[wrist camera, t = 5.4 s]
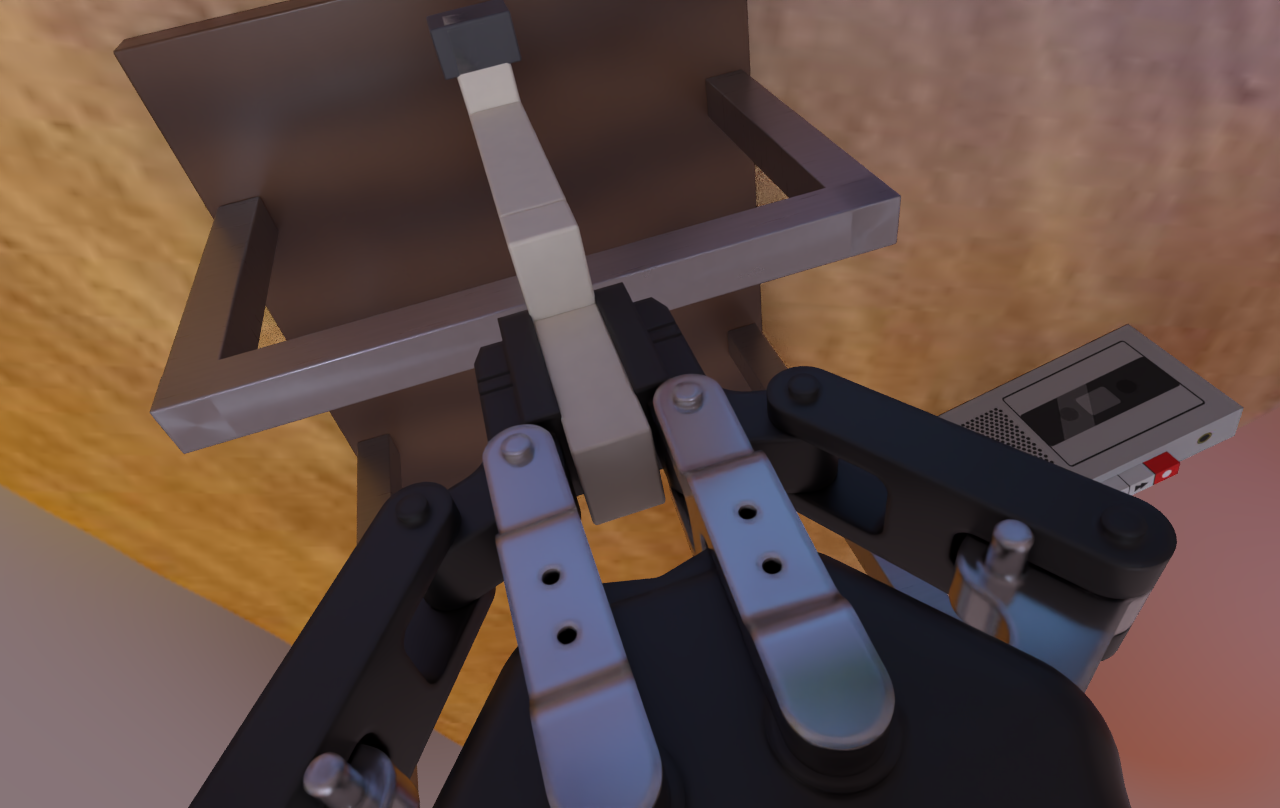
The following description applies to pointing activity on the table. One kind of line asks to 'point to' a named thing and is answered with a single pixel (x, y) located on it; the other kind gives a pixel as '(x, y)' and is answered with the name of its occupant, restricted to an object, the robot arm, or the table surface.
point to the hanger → (550, 267)
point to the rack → (471, 213)
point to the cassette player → (1107, 412)
